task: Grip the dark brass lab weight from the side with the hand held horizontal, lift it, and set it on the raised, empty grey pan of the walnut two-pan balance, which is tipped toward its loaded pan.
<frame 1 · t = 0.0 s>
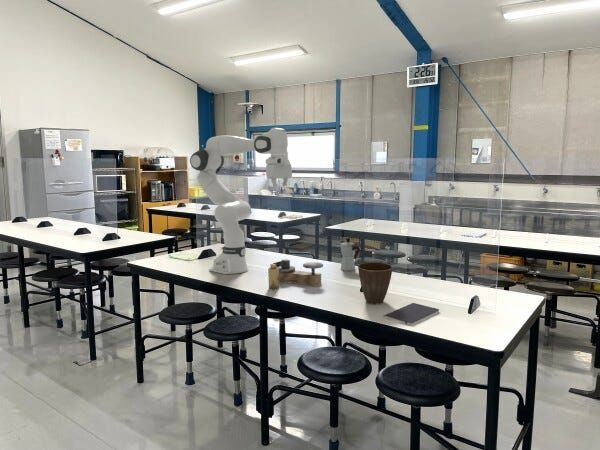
hand: (280, 186, 237), 48 cm above the table, tool pointing down, fingers open, 8 cm apart
plant pot: (374, 302, 201), on the table
notebook: (412, 316, 184), on the table
brass weight: (273, 288, 224), on the table
coffee maker: (349, 269, 258), on the table
balance: (299, 282, 234), on the table
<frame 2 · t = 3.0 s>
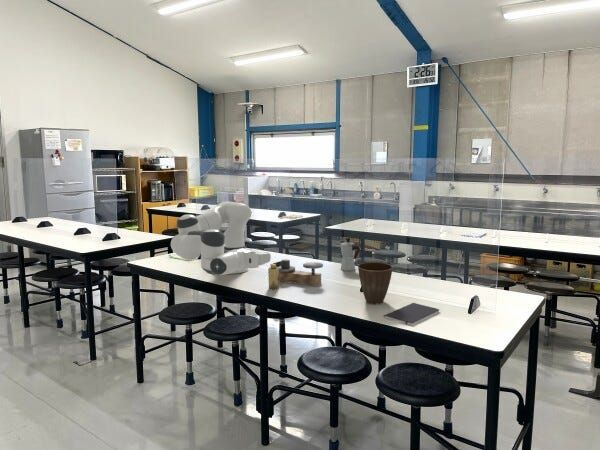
hand: (258, 252, 210), 20 cm above the table, tool horizontal, fingers open, 8 cm apart
nothing on the table moved.
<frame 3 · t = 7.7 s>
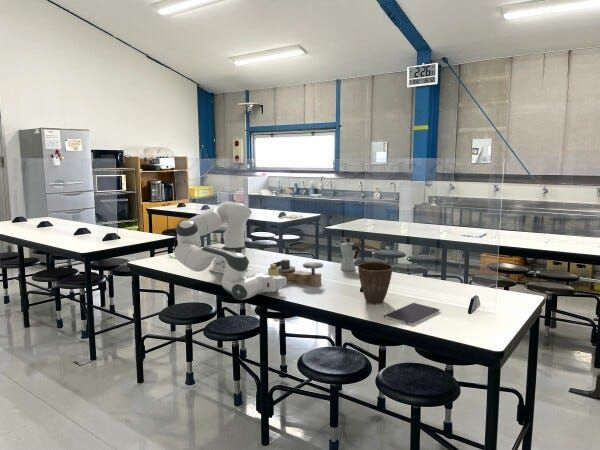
hand: (274, 275, 223), 6 cm above the table, tool horizontal, fingers closed on brass weight, 5 cm apart
brass weight: (273, 288, 224), on the table, touching gripper
everything else where it was.
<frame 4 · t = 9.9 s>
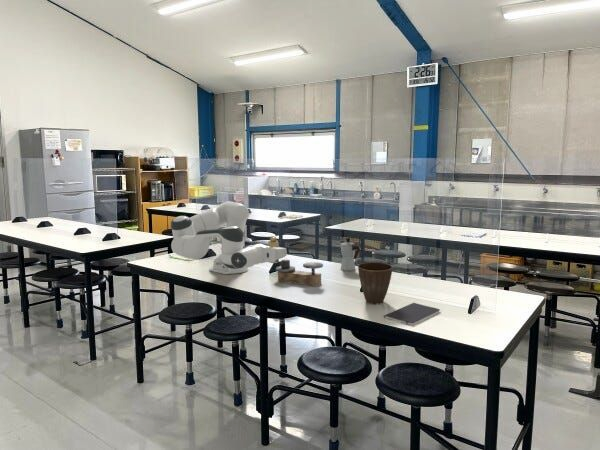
hand: (274, 248, 221), 20 cm above the table, tool horizontal, fingers closed on brass weight, 5 cm apart
brass weight: (273, 261, 222), point 13 cm above the table, touching gripper
everything else where it was.
when the fingers open (17 cm above the table, at t = 12.4 s): brass weight stays where it is, resting on balance.
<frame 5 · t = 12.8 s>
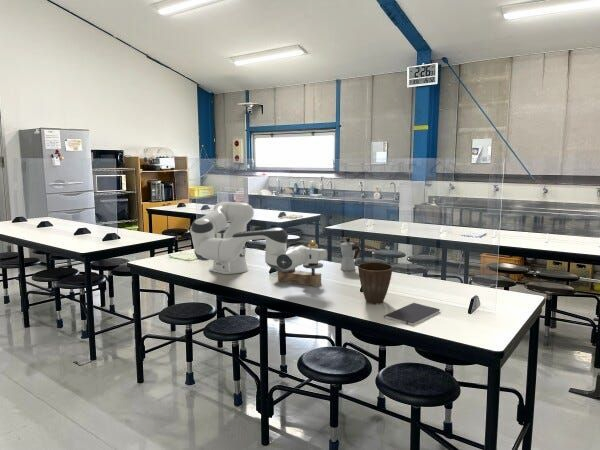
hand: (313, 249, 228), 17 cm above the table, tool horizontal, fingers open, 8 cm apart
brass weight: (313, 264, 228), point 10 cm above the table, touching balance
everything else where it was.
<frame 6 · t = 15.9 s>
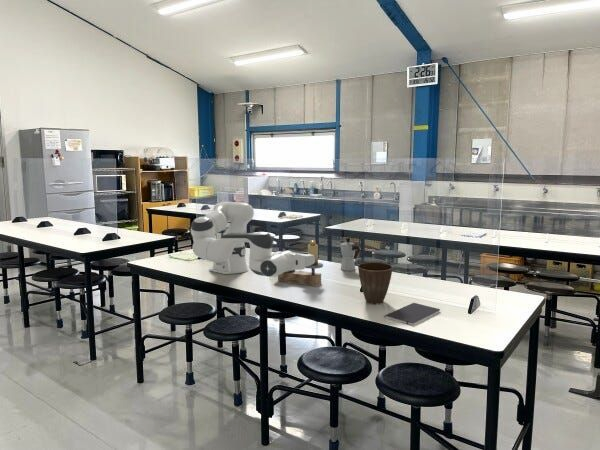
hand: (301, 254, 217), 17 cm above the table, tool horizontal, fingers open, 8 cm apart
nothing on the table moved.
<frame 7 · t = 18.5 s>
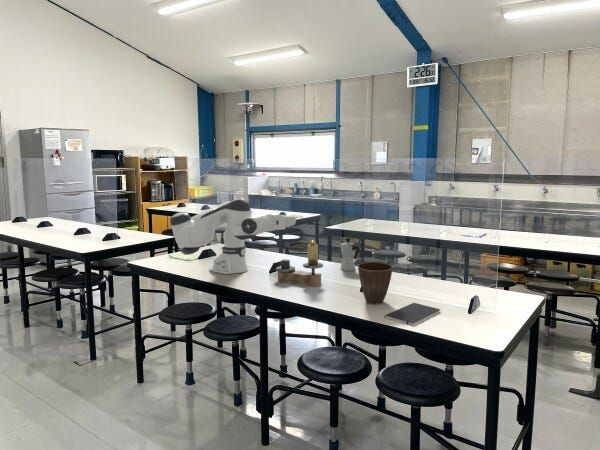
hand: (283, 217, 223), 34 cm above the table, tool horizontal, fingers open, 8 cm apart
nothing on the table moved.
at the end: brass weight 0.1 cm from the target spot on the balance, point 10.0 cm above the balance's base; brass weight tilted 0°; the gripper is holding nothing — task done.
